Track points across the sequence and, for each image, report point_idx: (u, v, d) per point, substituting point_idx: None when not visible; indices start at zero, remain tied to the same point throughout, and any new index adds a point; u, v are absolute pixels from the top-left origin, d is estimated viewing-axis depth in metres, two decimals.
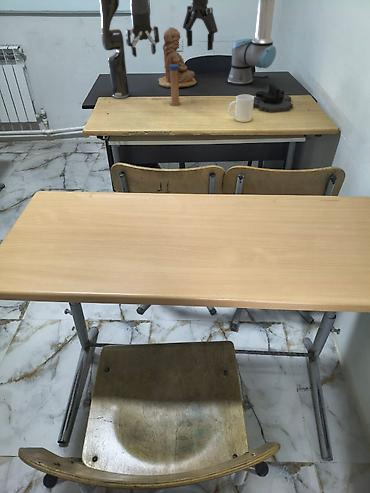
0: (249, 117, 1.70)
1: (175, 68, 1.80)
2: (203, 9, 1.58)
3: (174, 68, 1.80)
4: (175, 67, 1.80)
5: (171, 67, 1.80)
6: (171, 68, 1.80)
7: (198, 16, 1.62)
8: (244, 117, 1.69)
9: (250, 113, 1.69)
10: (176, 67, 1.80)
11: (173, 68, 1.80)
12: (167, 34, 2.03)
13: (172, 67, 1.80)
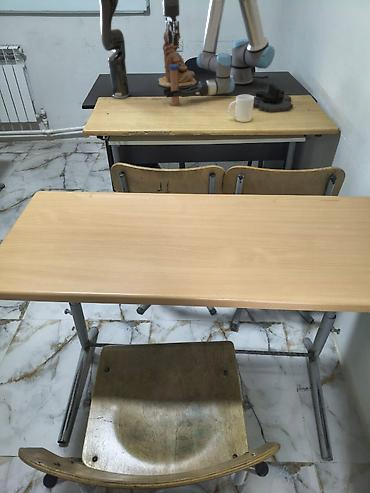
0: (249, 117, 1.70)
1: (175, 68, 1.80)
2: None
3: (174, 68, 1.80)
4: (175, 67, 1.80)
5: (171, 67, 1.80)
6: (171, 68, 1.80)
7: None
8: (244, 117, 1.69)
9: (250, 113, 1.69)
10: (176, 67, 1.80)
11: (173, 68, 1.80)
12: (167, 34, 2.03)
13: (172, 67, 1.80)
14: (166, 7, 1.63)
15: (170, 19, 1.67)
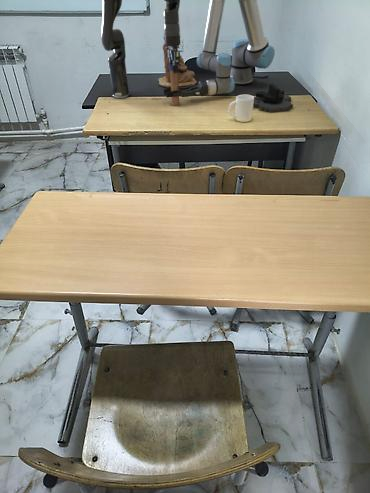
0: (249, 117, 1.70)
1: None
2: None
3: None
4: None
5: (171, 67, 1.80)
6: (171, 68, 1.80)
7: None
8: (244, 117, 1.69)
9: (250, 113, 1.69)
10: None
11: None
12: None
13: (172, 67, 1.80)
14: (168, 37, 1.70)
15: (171, 48, 1.75)
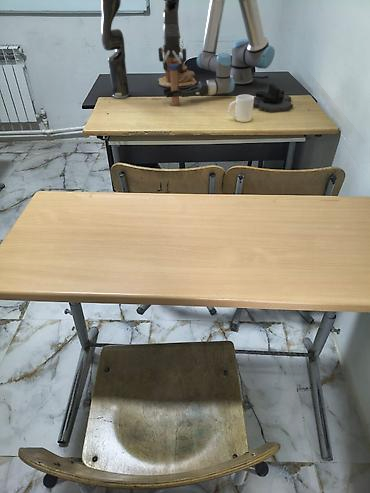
0: (249, 117, 1.70)
1: (178, 66, 1.82)
2: None
3: (178, 66, 1.81)
4: None
5: (177, 66, 1.80)
6: (177, 67, 1.80)
7: None
8: (244, 117, 1.69)
9: (250, 113, 1.69)
10: None
11: (178, 66, 1.81)
12: None
13: (178, 66, 1.80)
14: (174, 37, 1.70)
15: (174, 48, 1.74)
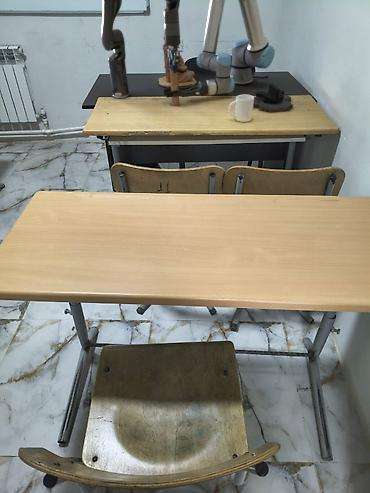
0: (249, 117, 1.70)
1: (178, 66, 1.82)
2: None
3: (178, 66, 1.81)
4: (178, 65, 1.82)
5: None
6: None
7: None
8: (244, 117, 1.69)
9: (250, 113, 1.69)
10: None
11: (178, 66, 1.81)
12: None
13: (178, 66, 1.80)
14: (168, 37, 1.70)
15: (171, 47, 1.74)
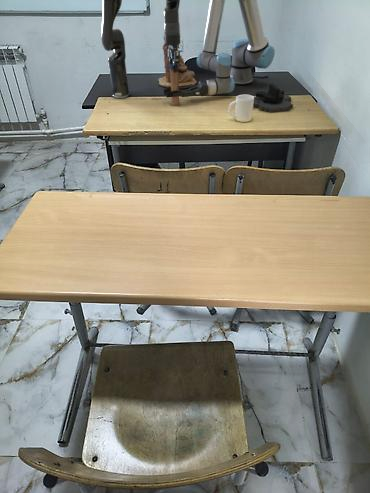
0: (249, 117, 1.70)
1: None
2: None
3: None
4: None
5: None
6: None
7: None
8: (244, 117, 1.69)
9: (250, 113, 1.69)
10: None
11: None
12: None
13: None
14: (167, 36, 1.70)
15: (171, 47, 1.74)
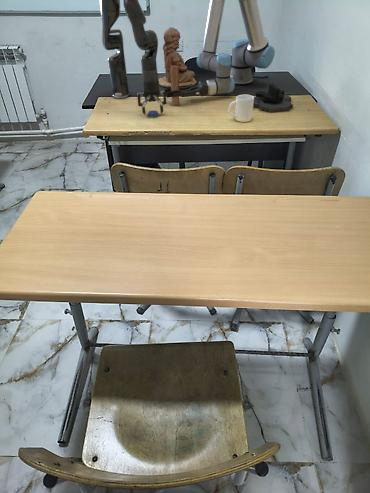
0: (249, 117, 1.70)
1: None
2: None
3: None
4: None
5: None
6: None
7: None
8: (244, 117, 1.69)
9: (250, 113, 1.69)
10: (148, 113, 1.81)
11: None
12: (167, 34, 2.03)
13: None
14: (155, 83, 1.69)
15: (154, 92, 1.73)
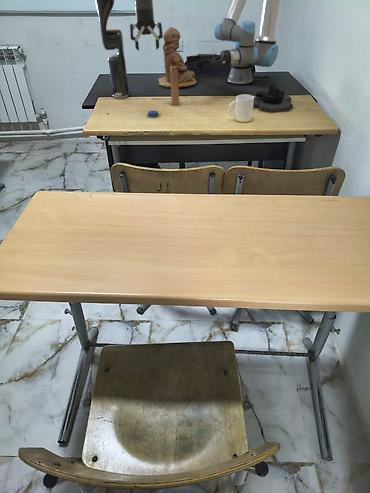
0: (249, 117, 1.70)
1: None
2: None
3: None
4: None
5: None
6: None
7: None
8: (244, 117, 1.69)
9: (250, 113, 1.69)
10: (148, 113, 1.81)
11: None
12: (167, 34, 2.03)
13: None
14: (150, 10, 1.50)
15: (149, 23, 1.55)
